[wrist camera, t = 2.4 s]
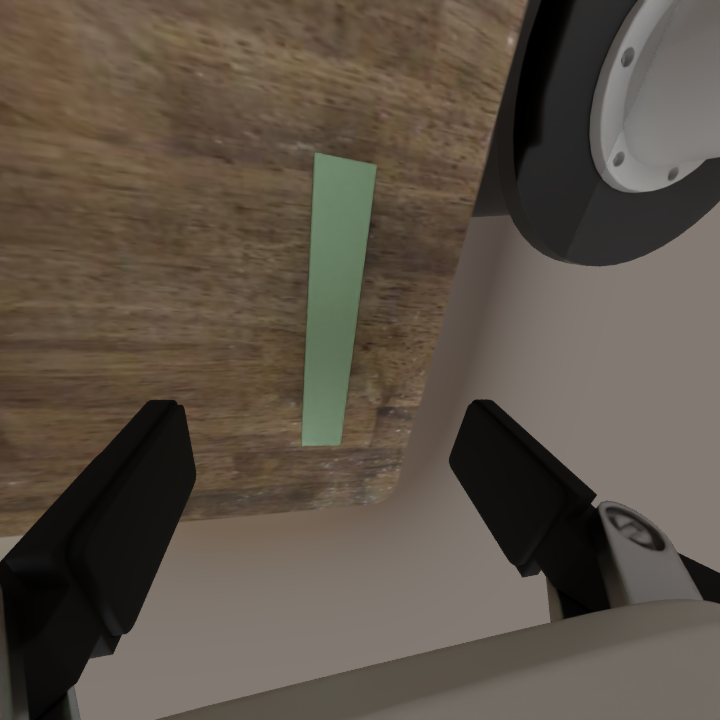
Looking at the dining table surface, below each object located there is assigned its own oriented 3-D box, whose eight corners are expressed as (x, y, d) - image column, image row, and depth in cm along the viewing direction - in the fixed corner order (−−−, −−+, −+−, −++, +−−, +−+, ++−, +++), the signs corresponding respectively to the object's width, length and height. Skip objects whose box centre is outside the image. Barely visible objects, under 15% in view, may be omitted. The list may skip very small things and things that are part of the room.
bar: (363, 176, 16) (377, 164, 13) (336, 416, 23) (340, 445, 20) (313, 166, 15) (314, 151, 12) (302, 416, 23) (301, 446, 20)
